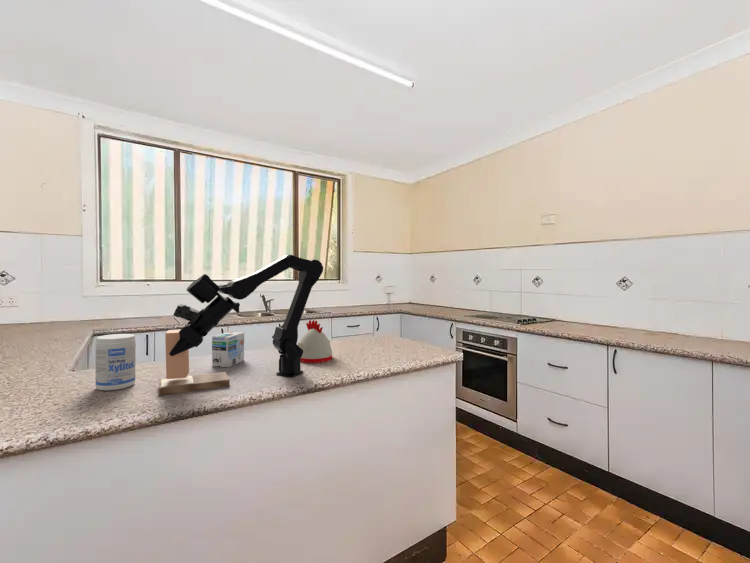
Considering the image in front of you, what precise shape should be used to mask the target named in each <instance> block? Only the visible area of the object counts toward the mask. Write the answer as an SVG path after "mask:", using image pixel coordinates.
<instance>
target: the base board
mask: <svg viewBox="0 0 750 563" xmlns="http://www.w3.org/2000/svg"><path fill="white" fill-rule="evenodd" d="M230 380H231V379H230V378H229V375H228V374H227V373H226V371H220V372H212V373H204V374H195V375H187V377H186V378H175V379H166V378H161V379H159V384H158V396H166V395H167V396H168V395H174V394H181V393H187V392H196V390H197V391H202V390H203V389H204V390H211V389H210V388H212V389H218V388H217V387H219V388H225V387H224V386H227V387H230V385H231V384H230ZM204 390H203V391H204Z"/></svg>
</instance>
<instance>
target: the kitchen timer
mask: <svg viewBox="0 0 750 563" xmlns="http://www.w3.org/2000/svg"><path fill="white" fill-rule="evenodd" d="M305 324H306V328H307V331H306V332H305V333H304V334H303V335H302V336H301V338H300V340H299V342H297V345H298V346H299V347H300V348H301V349H302V350H303V354H302V357H301V363H305V364H322V363H327V362H330V361H331V359H332V360H333V350H332V347H331V341H330V339H328V336H326V334H325V333H324V332H323V329H324V327H323V326H322V327H321V323H318V320H315V319H314V320H313V319H312V320H308V322H306V323H305Z"/></svg>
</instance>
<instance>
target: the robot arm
mask: <svg viewBox="0 0 750 563" xmlns="http://www.w3.org/2000/svg"><path fill="white" fill-rule="evenodd" d="M288 269H293V270H294V271H298V284H297V287H296V289H295V292H294V295H293V298H292V300H291V303H290V306H289V309H288V311H287V314H286V317H285V319H284V322H283V324H282V325H281V326H280V327H279V326H276V327H275V328H274V334H273V335H272V336H271V338H272V345H273V347H274V348H275V349H276V350H277V351H278V352H277V353H278V354H279V359H278V372H276V375H278V376H283V377H289V378H293V377H296V376H298V375H300V374H303V373H304V370H301V364H302V362H301V357H302V354H303V350H302V349H301V348H300V347H299V346H298V338H299V329H298V328H299V324H300V322H301V319H302V316H303V313H304V310H305V309H306V308H305V307H306V306H307V305H306V304H307V302H308V299H309V296H310V294H311V291H312V289H313V286H315V284H316V283H317V282H318V281H319V279H320V278H321V275H322V274H323V272H324V266H323V263H322V262H321V261H319V260H318V259H306V258H302V257H300V256H299V257H298V256H295V255H293V254H285V255H282V257H281V258H278V259H277V260H275V261H273V262H271V263H270V264H268V265H266V266H264V267H262V268H260V269H258V270H256V271H254V272H253V273H251V274H247V275H243V276H241V277H238V278H236V279H232V280H230V281H228V282H227V284H219V285H218V284H216V282H215V281H214V280H212V279H211V277H210V276H209V275H207V274H206V273H203V274H202V275H201V276H199V277H198V278H197V279H196V280H194V281H193V282H192V283H190V285H188V287H187V288H186V292H188V293H189V294H190V295H191V296H192V297H194V299H196V300H197V301H199V302H200V303H201V304H204V303H207V304H208V305H206V307H205V308H204V307H203V308H202V309H200V311H199V310H197V309H195V308H193V307H191V306H188V305H186V304H182V303H180V304H177V307H176V308H175V311H174V313H173V314H172V316H174V317H176V318H180V319H182V320H183V319H184V320H185V321H188V322H187V323H186V324H185V325H184V326H183V327H182V328H181V330H180V331H179V334H180V339H179V341H178V342H177V343H176V345H175V346H174V348H173V349H172V350H171V352H170V353H169V355H171V356H174V355H176V354H179V353H181V352H183V351H186V350H188V349H189V350H190V349H193V348H198V347H199V346H200V345H201V344H202V343H203V341H204V337H206V336H207V335H208V334H209V332H210V331H212V330H213V329H214V328H215V327H216V326H217V325H218V324H219V323H220V322H221V321H222V320H223V319H224V318H225V317H226V316H227V315H228V314H229V313H230V312H231V311H232V310H233V311H234V312H235V313H237V314H239V313H240V305H241V304H240V302H235V301H233V299H235V300H244V299H247V297H248V296H250V295H251V294H252V293H253V292H254V291H256V290H257V288H258V287H259V286H261V285H262V284H263V283H266V282H267V281H269V280H271V279H273V278H274V277H276V276H277V275H279V274H281V273H283V272H284V271H287V270H288ZM220 293H221V294H220ZM222 294H225V295H227V296H223V295H222ZM231 298H232V299H231Z"/></svg>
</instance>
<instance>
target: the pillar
mask: <svg viewBox="0 0 750 563" xmlns="http://www.w3.org/2000/svg"><path fill="white" fill-rule="evenodd" d="M181 329H182V328H181ZM181 329H168V330H167V331H165V334H164V335H165V336H164V337H165V370H166V372H165V373H166V374H165V375H166V378H165V379H175V378H186V377H187V376H189V374H190V357H189V356H190V354H189V353H190V352H189V350H190V349H188V350H186V351H183V352H181V353H179V354H176V355H174V356H171V355H169V353H170V352H171V350H172V349H173V348H174V346H175V345H176V343H177V342H178V341H179V339H180V334H179V331H180V330H181Z"/></svg>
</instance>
